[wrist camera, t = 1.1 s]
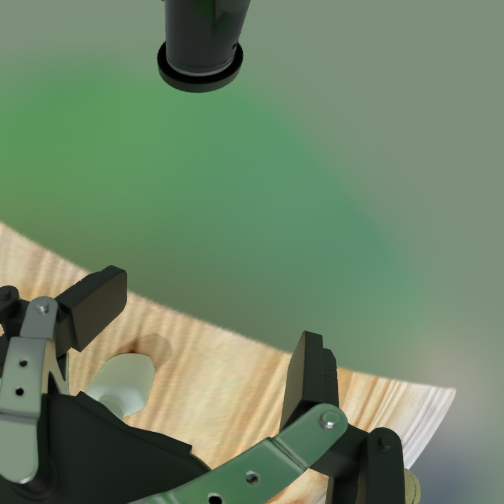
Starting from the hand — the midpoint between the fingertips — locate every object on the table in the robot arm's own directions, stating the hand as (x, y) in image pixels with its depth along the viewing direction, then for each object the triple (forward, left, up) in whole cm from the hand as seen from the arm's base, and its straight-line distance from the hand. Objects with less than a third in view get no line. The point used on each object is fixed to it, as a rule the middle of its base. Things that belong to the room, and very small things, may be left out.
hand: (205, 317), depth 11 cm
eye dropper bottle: (+6, -11, -17) cm, 21 cm away
